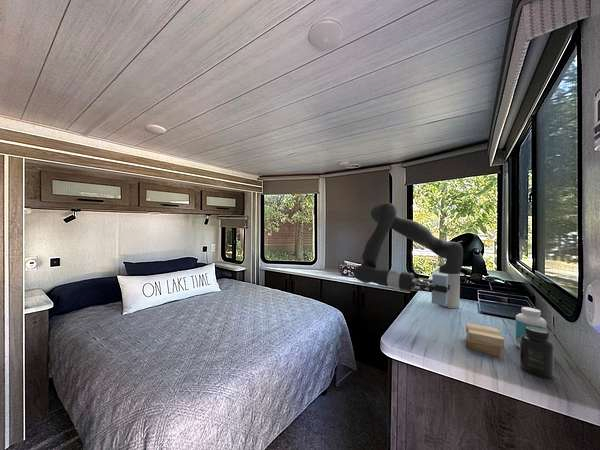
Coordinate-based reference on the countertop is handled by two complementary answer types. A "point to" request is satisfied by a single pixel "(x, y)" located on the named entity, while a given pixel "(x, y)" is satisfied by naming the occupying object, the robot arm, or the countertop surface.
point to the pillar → (440, 297)
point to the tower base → (483, 348)
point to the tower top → (484, 335)
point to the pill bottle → (528, 322)
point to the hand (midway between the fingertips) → (448, 288)
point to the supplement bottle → (537, 352)
